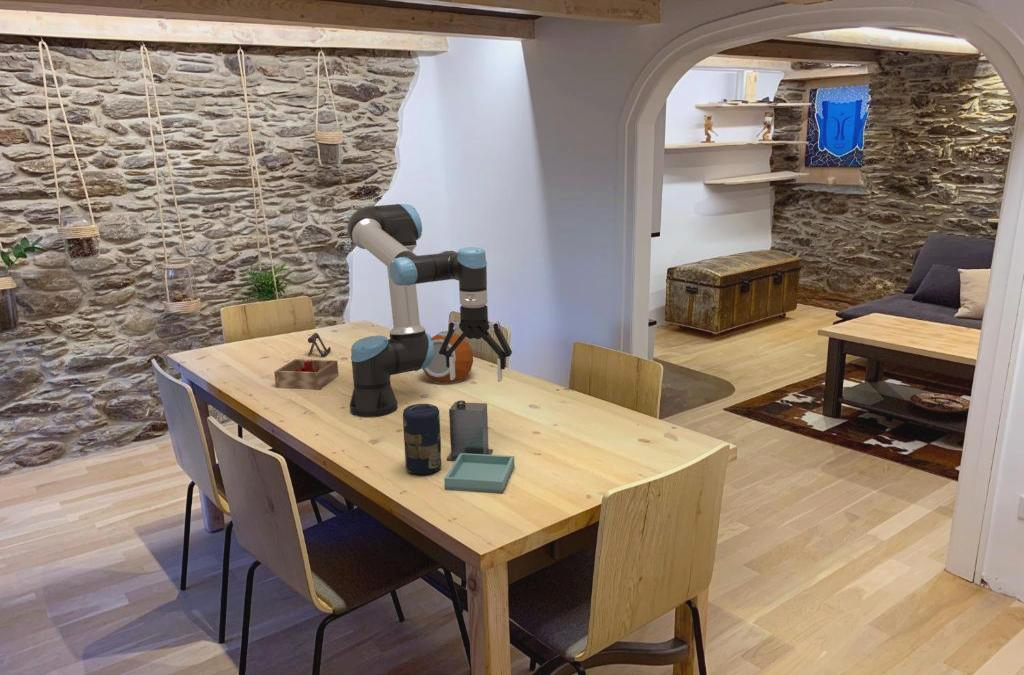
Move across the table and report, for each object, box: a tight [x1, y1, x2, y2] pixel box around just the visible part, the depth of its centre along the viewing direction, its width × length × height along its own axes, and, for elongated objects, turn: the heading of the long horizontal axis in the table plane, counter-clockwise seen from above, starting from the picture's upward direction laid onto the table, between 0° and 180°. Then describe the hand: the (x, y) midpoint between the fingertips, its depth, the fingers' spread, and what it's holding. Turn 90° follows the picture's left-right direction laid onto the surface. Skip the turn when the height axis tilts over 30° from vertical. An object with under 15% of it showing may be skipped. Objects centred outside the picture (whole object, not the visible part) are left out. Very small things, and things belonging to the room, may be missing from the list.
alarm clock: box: [422, 330, 474, 385], centre depth 269 cm, size 19×18×17 cm
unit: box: [446, 400, 494, 462], centre depth 201 cm, size 11×8×16 cm
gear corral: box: [274, 358, 340, 390], centre depth 271 cm, size 17×16×6 cm
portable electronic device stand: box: [307, 332, 332, 358], centre depth 306 cm, size 9×8×8 cm
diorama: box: [295, 358, 319, 372], centre depth 271 cm, size 11×12×8 cm
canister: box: [402, 403, 442, 475], centre depth 193 cm, size 10×10×18 cm
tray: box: [443, 453, 515, 494], centre depth 189 cm, size 15×16×3 cm
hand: (476, 379), depth 208 cm, fingers open, 13 cm apart
